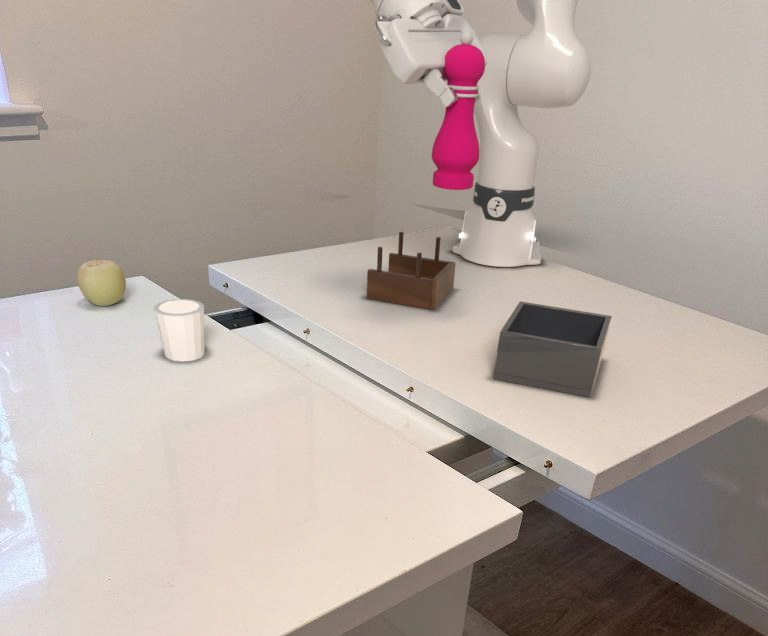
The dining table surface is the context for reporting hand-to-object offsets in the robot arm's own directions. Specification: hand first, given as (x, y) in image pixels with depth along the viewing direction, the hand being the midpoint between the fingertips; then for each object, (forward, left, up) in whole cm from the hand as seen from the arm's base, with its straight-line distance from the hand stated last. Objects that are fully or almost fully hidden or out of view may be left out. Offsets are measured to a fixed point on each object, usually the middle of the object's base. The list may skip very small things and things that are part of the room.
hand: (464, 102), depth 104 cm
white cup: (+34, -29, -32) cm, 55 cm away
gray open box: (+16, +21, -31) cm, 41 cm away
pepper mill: (0, -1, -12) cm, 12 cm away
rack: (-6, -8, -31) cm, 33 cm away
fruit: (+22, -52, -32) cm, 65 cm away
